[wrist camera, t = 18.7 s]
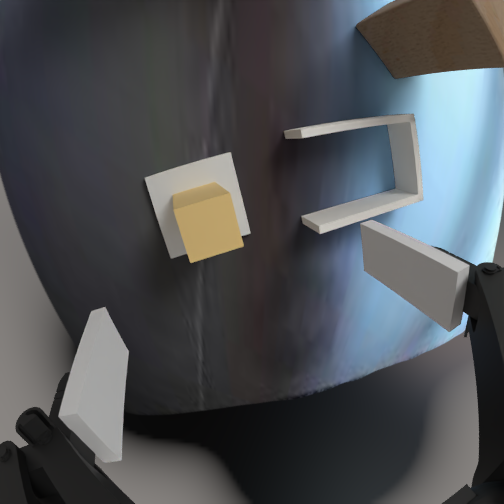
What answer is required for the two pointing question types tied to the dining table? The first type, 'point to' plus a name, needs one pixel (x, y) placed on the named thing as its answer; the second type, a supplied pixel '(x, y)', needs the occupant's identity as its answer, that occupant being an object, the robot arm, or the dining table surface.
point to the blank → (207, 221)
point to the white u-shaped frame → (403, 165)
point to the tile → (188, 178)
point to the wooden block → (436, 35)
